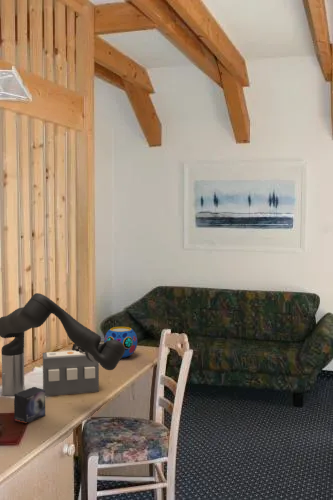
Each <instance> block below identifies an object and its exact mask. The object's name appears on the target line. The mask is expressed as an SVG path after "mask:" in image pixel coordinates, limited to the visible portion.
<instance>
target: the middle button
mask: <svg viewBox="0 0 333 500" xmlns="http://www.w3.org/2000/svg"><path fill="white" fill-rule="evenodd" d="M66 379H67V380H75V379H78V378H77V367H71V368H66Z"/></svg>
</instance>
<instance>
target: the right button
mask: <svg viewBox="0 0 333 500" xmlns="http://www.w3.org/2000/svg"><path fill="white" fill-rule="evenodd" d="M84 378H85V379H88V378H95V366H86V367H84Z"/></svg>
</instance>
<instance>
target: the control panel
mask: <svg viewBox="0 0 333 500" xmlns="http://www.w3.org/2000/svg"><path fill="white" fill-rule="evenodd" d="M86 366H95V378H88V379H85V378H84V367H86ZM71 367H77V378H78V379H75V380H67V379H66V368H71ZM99 367H100V364H99V363H97V362H93V361H90V360H88V359H87V357H86V355H85V354H82V353H80V352H79V351H78V352H77V351H73V350H65V351H64V350H63V351H50V352H42V389H44V390H45V397H51V396H52V397H53V396H61V395H62V396H64V395H76V394H87V393H98V392H99V391H100V378H99V377H100V376H99V374H100V373H99V372H100V371H99V370H100V368H99ZM57 368H59V381H49V380H48V369H57Z"/></svg>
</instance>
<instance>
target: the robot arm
mask: <svg viewBox="0 0 333 500" xmlns="http://www.w3.org/2000/svg"><path fill="white" fill-rule="evenodd" d="M51 315H54V316H55V317H57V319H58V320H59V321H60V323H61V324H62V327H63V329H64V330H65V333H66V335H67V337H68V339H69V340H70V341H71V342H72V343H73V344H72V347H71V351H77V352H78V351H79V352H80V353H82V354H85V355H86V357H87V359H88V360H90V361H93V362H97V363H99V366H101V367H102V368H103V369H104V370H107V371H114V369H115V368H116V367H117V365H118V364H119V363H120V361H121V360H122V359H123V358H122V356H123V355H124V353H125V347H124V345H123V344H122V343H121V342H120V341H117V340H108V341H106V342H105V343H104V342H101V341H102V337H101V335H99V334H98V333H96V332H95V331H93V330H92V329H89V328H88V327H86V326H85V325H83V324H82V323H80V321H78V320H76V318H74V317H73V316H72V315H70V314H69V312H67V311H66V310H65V309H64V308H63V307H60V306H59V305H58V304H57V303H56V302H54V301H53V300H52V299H50V298H49V297H47V296H46V295H44V294H42V293H39V292H38V293H34V294H33V295H32V296H31V297H30V299H28V301H27V302H26V303H25V305H24V306H21V307H19V308H16V309H15V310H13V311H12V312H11V313H9V314H7V315H4V316H0V338H3V339H9V338H10V339H11V338H12V339H13V340H12V341H10V342H9V343H6V344H5V345H3V346H2V347H1V352H0V353H1V395H2V396H9V397H10V396H11V397H14V394H15V393H18V392H21V391H24V390H26V389H25V386H26V385H25V332H27V331H28V330H31V329H35V328H40V327H41V326H43V325H44V323H45V322H46V321H47V320H48V318H49V317H50V316H51Z"/></svg>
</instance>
